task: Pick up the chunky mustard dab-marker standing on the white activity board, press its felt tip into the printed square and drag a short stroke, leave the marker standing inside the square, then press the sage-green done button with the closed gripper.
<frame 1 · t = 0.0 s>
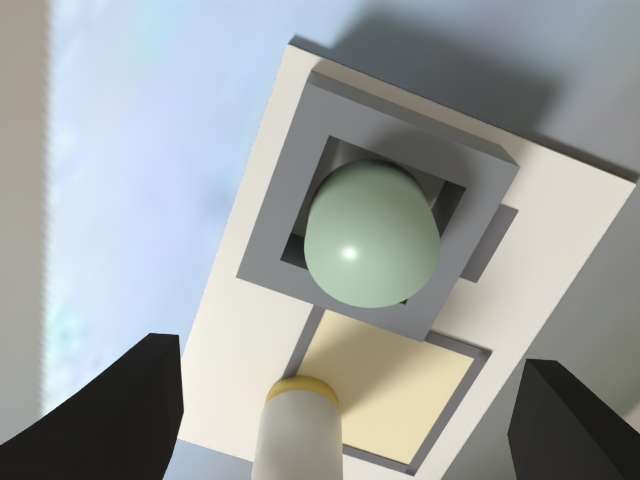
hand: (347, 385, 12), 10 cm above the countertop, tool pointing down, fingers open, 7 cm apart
marker: (301, 405, 25), resting on board
done button: (370, 231, 18), point 3 cm above the countertop, slide at 0.0 cm
button housing: (367, 198, 20), resting on board
board: (364, 320, 23), on the countertop
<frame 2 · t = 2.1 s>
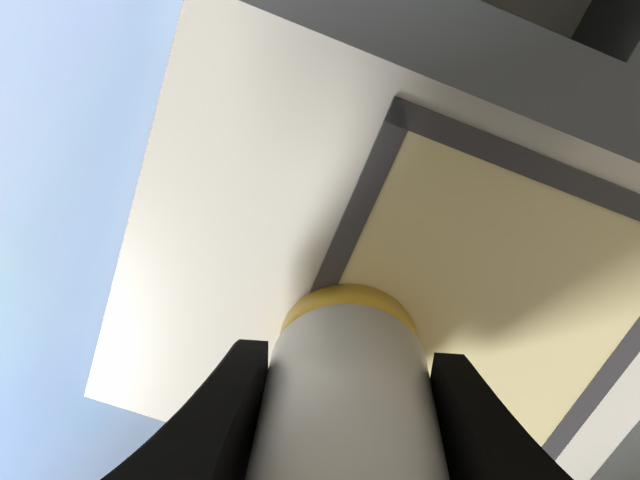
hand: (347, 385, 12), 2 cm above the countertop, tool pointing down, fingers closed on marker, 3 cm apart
marker: (348, 343, 13), resting on board, touching gripper
board: (479, 167, 12), on the countertop
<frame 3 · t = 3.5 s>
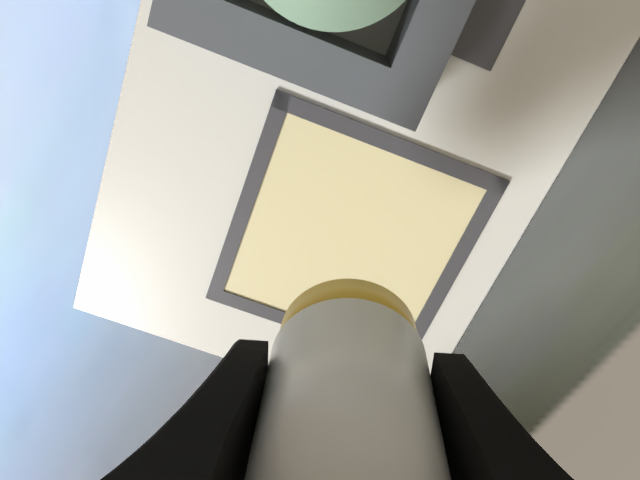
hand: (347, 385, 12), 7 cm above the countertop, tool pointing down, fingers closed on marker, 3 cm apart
marker: (348, 338, 13), point 6 cm above the countertop, touching gripper
board: (339, 138, 17), on the countertop
when the fingers open (2 cm above the countertop, at t = 5.4 s): marker stays where it is, resting on board.
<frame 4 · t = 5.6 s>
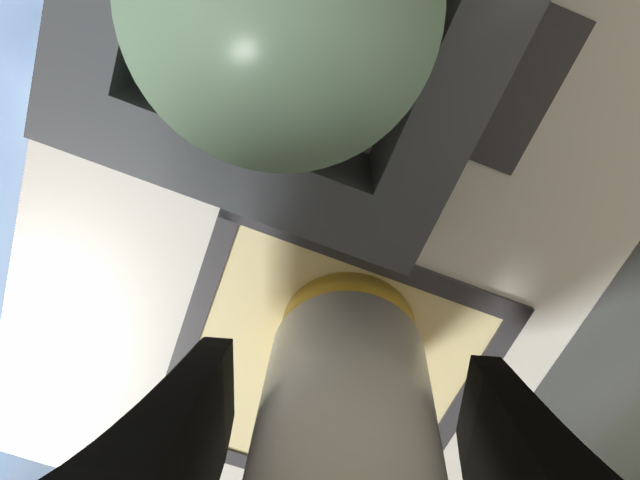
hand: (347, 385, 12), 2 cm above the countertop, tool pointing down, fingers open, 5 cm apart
marker: (348, 330, 14), resting on board
done button: (287, 7, 8), point 3 cm above the countertop, slide at 0.0 cm
board: (310, 252, 13), on the countertop
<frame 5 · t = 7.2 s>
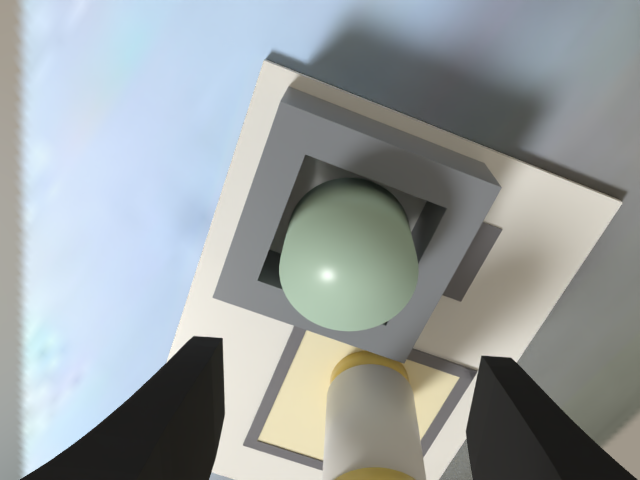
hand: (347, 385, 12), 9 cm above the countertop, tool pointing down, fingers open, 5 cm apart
marker: (369, 382, 23), resting on board
done button: (348, 252, 17), point 3 cm above the countertop, slide at 0.0 cm
button housing: (348, 216, 20), resting on board
board: (348, 338, 23), on the countertop
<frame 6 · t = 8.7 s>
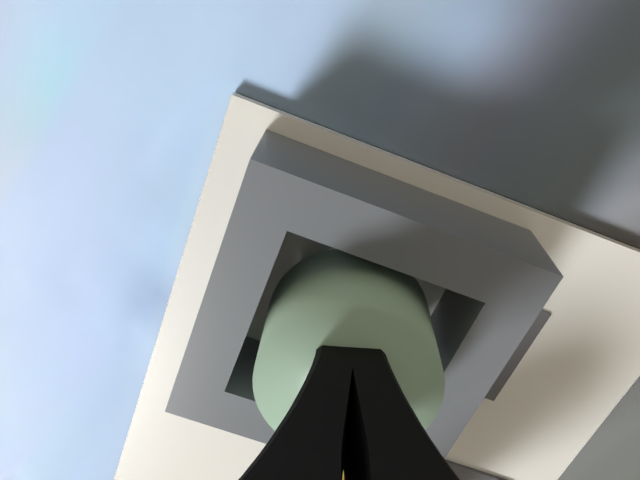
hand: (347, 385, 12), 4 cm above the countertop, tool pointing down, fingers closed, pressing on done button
done button: (347, 351, 13), point 3 cm above the countertop, slide at 0.5 cm, touching gripper
button housing: (348, 296, 15), resting on board
board: (347, 440, 18), on the countertop
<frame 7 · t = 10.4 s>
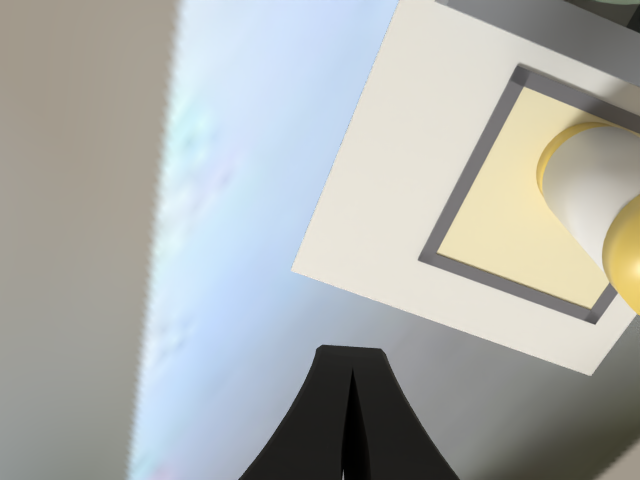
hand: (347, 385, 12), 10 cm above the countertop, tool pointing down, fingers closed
marker: (584, 168, 19), resting on board
board: (563, 110, 19), on the countertop
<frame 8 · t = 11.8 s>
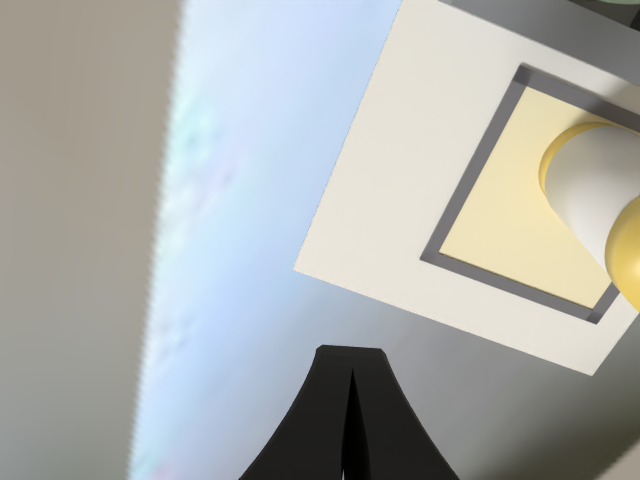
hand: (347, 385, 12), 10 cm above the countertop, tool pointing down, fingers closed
marker: (586, 168, 19), resting on board
board: (566, 110, 19), on the countertop
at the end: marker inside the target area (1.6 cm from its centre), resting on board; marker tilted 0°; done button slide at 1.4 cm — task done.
